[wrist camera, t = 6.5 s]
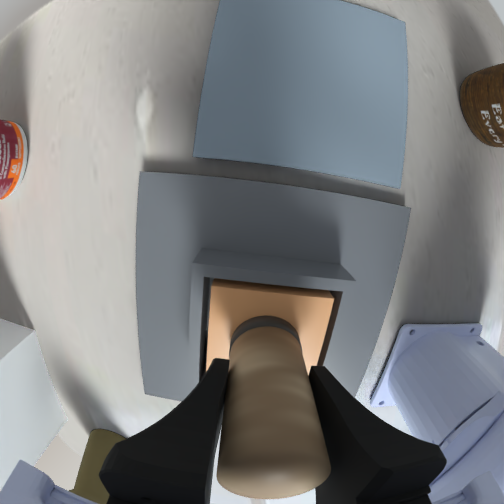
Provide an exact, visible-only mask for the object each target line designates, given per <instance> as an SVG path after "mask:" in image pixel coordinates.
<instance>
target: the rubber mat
mask: <svg viewBox="0 0 504 504" xmlns="http://www.w3.org/2000/svg"><path fill="white" fill-rule="evenodd" d="M407 107H408V59H407V39H406V27H405V22H403V21H401V20H398V19H396V18H393V17H390V16H388V15H385V14H382V13H380V12H377V11H374V10H371V9H368V8H365V7H361V6H358V5H355V4H351V3H348V2H344V1H340V0H220V2H219V7H218V11H217V15H216V20H215V24H214V29H213V34H212V39H211V43H210V49H209V54H208V59H207V64H206V70H205V76H204V81H203V87H202V93H201V100H200V106H199V113H198V120H197V127H196V134H195V142H194V150H193V157H196V158H209V159H220V160H230V161H240V162H249V163H257V164H265V165H273V166H280V167H287V168H294V169H301V170H307V171H313V172H319V173H325V174H330V175H336V176H341V177H346V178H351V179H356V180H361V181H366V182H371V183H375V184H380V185H384V186H389V187H393V188H399V189H400V187H401V179H402V171H403V162H404V153H405V141H406V127H407Z"/></svg>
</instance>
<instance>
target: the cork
mask: <svg viewBox="0 0 504 504" xmlns="http://www.w3.org/2000/svg"><path fill="white" fill-rule="evenodd" d="M125 439H126V438H124V437H123V436H121V435H119V434H117V433H114V432H112V431H108V430H105V429H95V430H93V431H92V432H91V433H90V436H89V439H88V442H87V445H86V448H85V452H84V455H83V458H82V462H81V465H80V469H79V472H78V476H77V479H76V483H75V486H74V489H72V490H69V492H71V493H74V494H76V495H78V496H81V497H83V498H85V499H88V500H90V501H93V502H95V503H98V504H106V503H107V501H108V498H109V493H108V492H107V490H106V488H105V487H104V485H103V484H102V482H101V480H100V478H99V472H100V470H101V467H102V465H103V462H104V460H105V458H106V456H107V455H108V453H109V452H110V450H111V449H112V447H113V446H114V445H115V443H117V442H120V441H122V440H125Z"/></svg>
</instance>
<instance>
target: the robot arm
mask: <svg viewBox="0 0 504 504" xmlns="http://www.w3.org/2000/svg"><path fill="white" fill-rule="evenodd" d="M411 330H413V331H412V332H411V333H410V331H411ZM481 331H482V325H481V324H480V323H472V324H405V325H403V326H402V327H401V329H400V331H399V334H398V336H397V339H396V342H395V345H394V347H393V350H392V352H391V355H390V357H389V360H388V362H387V365H386V367H385V370H384V372H383V374H382V377H381V379H380V381H379V383H378V386H377V388H376V390H375V392H374V394H373V396H372V399H371V401H370V405H371V407H383V406H392V405H396V406H397V408H398V409H399V411H400V413H401V415H402V417H403V419H404V421H405V422H406V424H407V426H408V428H409V430H410V432H411V434H412V436H411V435H408V434H406V433H404V432H402V431H400V430H398V429H396V428H395V427H393V426H391V425H389V424H388V423H386V422H384V421H383V420H381V419H380V418H379V417H377V416H376V415H374V414H373V413H372V412H370V411H369V410H368V409H367V408H365V407H364V406H363V405H362V404H361V403H360V402H359V401H357V400H356V399H355V398H354V397H353V396H352V395H351V394H350V393H349V392H348V391H347V390H346V389H345V388H344V387H343V386H342V385H341V383H340V382H339V381H338V380H337V379H336V378H335V377H334V376H333V375H332V374H331V372H330V371H329V370H328V369H327V368H326V367H325V366H311V369H310V372H309V375H308V377H309V381H310V384H311V388H312V392H313V396H314V400H315V404H316V408H317V412H318V416H319V420H320V424H321V428H322V432H323V436H324V440H325V444H326V448H327V452H328V456H329V461H330V465H331V472H330V475H329V477H328V478H327V479H326V480H325V481H324V482H323V483H322V484H320V485H319V486H317V487H316V488H315V489H316V504H504V357H503V356H502V355H501V354H500V353H499V352H497V351H496V350H495V349H494V348H493V347H492V346H491V345H489V344H488V343H487V342H486V341H485V340H484V339H483V338H481V337H480V333H481ZM229 363H230V360H229V359H221V358H215V359H213V360H212V363H211V365H210V367H209V368H208V370H207V371H206V373H205V375H204V376H203V377H202V379H201V380H200V381H199V383H198V384H197V385H196V387H195V388H194V389H193V390H192V391H191V392H190V394H189V395H188V396H187V397H186V398H185V399H184V400H183V401H182V402H181V403H180V404H179V405H178V406H177V407H176V408H174V409H173V410H172V411H171V412H170V413H168V414H167V415H166V416H165V417H163V418H162V419H161V420H159V421H158V422H156V423H155V424H153V425H151V426H150V427H148V428H146V429H145V430H143V431H141V432H140V433H138V434H136V435H134V436H131V437H129V438H127V439H125V440H122V441H120V442H117V443H115V445H114V446H113V447H112V449H111V450H110V452H109V453H108V455H107V456H106V458H105V460H104V462H103V465H102V467H101V470H100V472H99V478H100V480H101V482H102V484H103V485H104V487H105V488H106V490H107V492H108V493H109V498H108V501H107V503H106V504H210V495H211V485H212V475H213V466H214V458H215V452H216V448H217V443H218V439H219V434H220V430H221V425H222V420H223V411H224V402H225V395H226V389H227V381H228V372H229ZM0 504H98V503H95V502H93V501H90V500H88V499H85V498H83V497H81V496H78V495H76V494H74V493H71V492H69V491H67V490H65V489H63V488H61V487H59V486H57V485H55V484H54V482H53V481H52V479H51V478H50V477H49V476H48V475H46V474H45V473H44V472H42V471H40V470H38V469H37V468H35V467H33V466H32V465H30V464H28V463H27V462H25V461H23V460H19V462H18V463H17V465H16V466H15V468H14V470H13V471H12V473H11V475H10V476H9V478H8V480H7V481H6V483H5V485H4V486H3V488H2V490H1V491H0Z"/></svg>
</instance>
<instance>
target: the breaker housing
mask: <svg viewBox="0 0 504 504" xmlns="http://www.w3.org/2000/svg"><path fill="white" fill-rule="evenodd" d="M410 211H411V208H409V207H405V206H401V205H396V204H391V203H387V202H382V201H377V200H372V199H367V198H362V197H356V196H351V195H345V194H340V193H334V192H328V191H322V190H316V189H310V188H303V187H297V186H290V185H282V184H275V183H267V182H260V181H251V180H243V179H233V178H224V177H214V176H202V175H190V174H177V173H162V172H140V176H139V189H138V204H137V224H136V300H137V320H138V335H139V347H140V358H141V368H142V376H143V384H144V392H145V394H147V395H152V396H157V397H161V398H166V399H172V400H177V401H183V400H184V399H185V398H186V397H187V396H188V395H189V394H190V392H191V391H192V390H193V389H194V388H195V387H196V385H197V384H198V383H199V381H200V380H201V379H202V377H203V376H204V375H205V373H206V363H207V344H208V327H209V312H210V298H211V286H212V283H213V280H214V278H219V279H228V280H236V281H245V282H254V283H263V284H272V285H281V286H291V287H301V288H311V289H322V290H329V291H330V293H331V294H332V296H333V297H334V302H333V306H332V310H331V314H330V318H329V322H328V326H327V330H326V334H325V337H324V341H323V345H322V348H321V352H320V355H319V359H318V362H317V366H325V367H326V368H327V369H328V370H329V371H330V372H331V374H332V375H333V376H334V377H335V378H336V379H337V380H338V381H339V382H340V383H341V385H342V386H343V387H344V388H345V389H346V390H347V391H348V392H349V393H350V394H351V395H352V396H353V397H354V398H355V396H356V393H357V391H358V389H359V386H360V384H361V382H362V379H363V377H364V374H365V372H366V369H367V367H368V364H369V361H370V359H371V356H372V353H373V351H374V348H375V345H376V342H377V339H378V337H379V334H380V331H381V328H382V325H383V321H384V318H385V315H386V312H387V309H388V305H389V302H390V299H391V295H392V291H393V288H394V284H395V280H396V277H397V273H398V269H399V264H400V260H401V256H402V252H403V247H404V242H405V238H406V233H407V228H408V222H409V217H410Z"/></svg>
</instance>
